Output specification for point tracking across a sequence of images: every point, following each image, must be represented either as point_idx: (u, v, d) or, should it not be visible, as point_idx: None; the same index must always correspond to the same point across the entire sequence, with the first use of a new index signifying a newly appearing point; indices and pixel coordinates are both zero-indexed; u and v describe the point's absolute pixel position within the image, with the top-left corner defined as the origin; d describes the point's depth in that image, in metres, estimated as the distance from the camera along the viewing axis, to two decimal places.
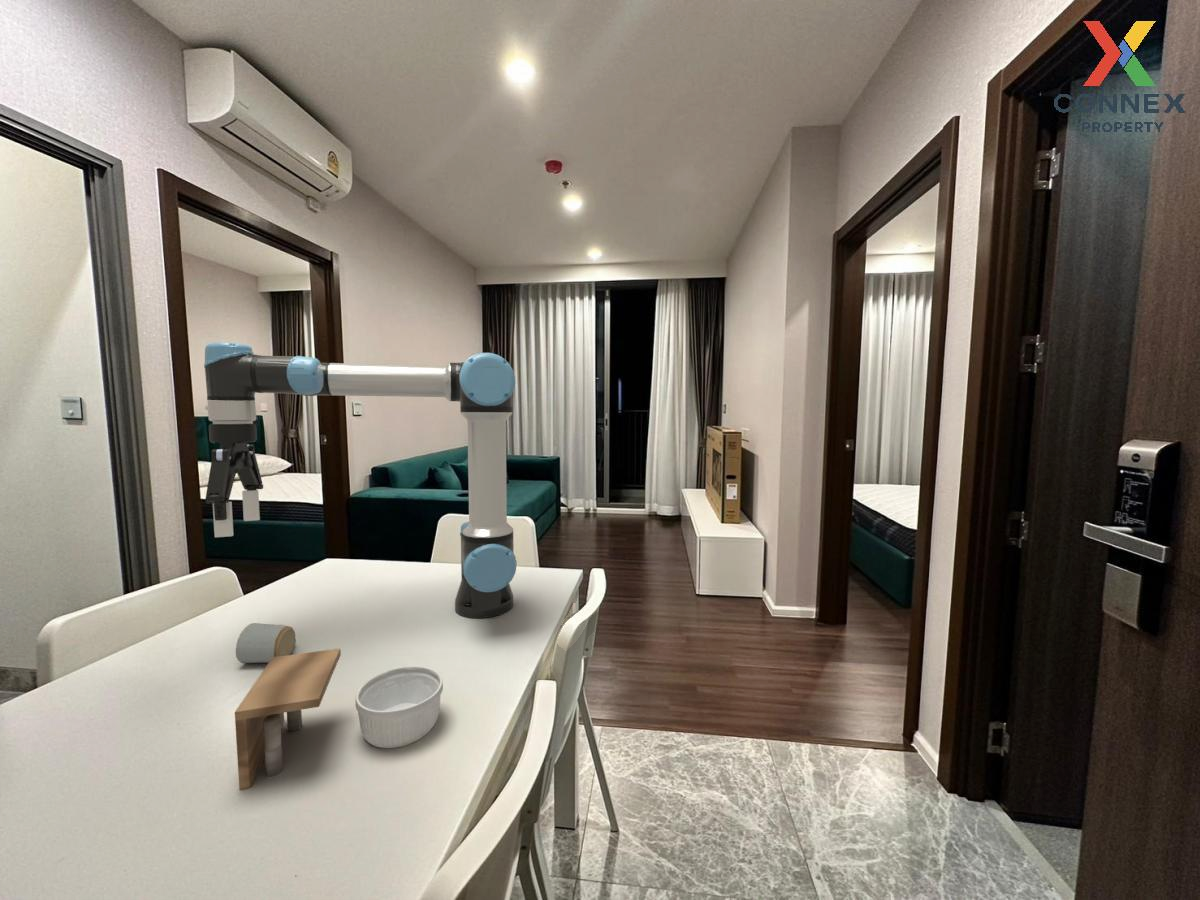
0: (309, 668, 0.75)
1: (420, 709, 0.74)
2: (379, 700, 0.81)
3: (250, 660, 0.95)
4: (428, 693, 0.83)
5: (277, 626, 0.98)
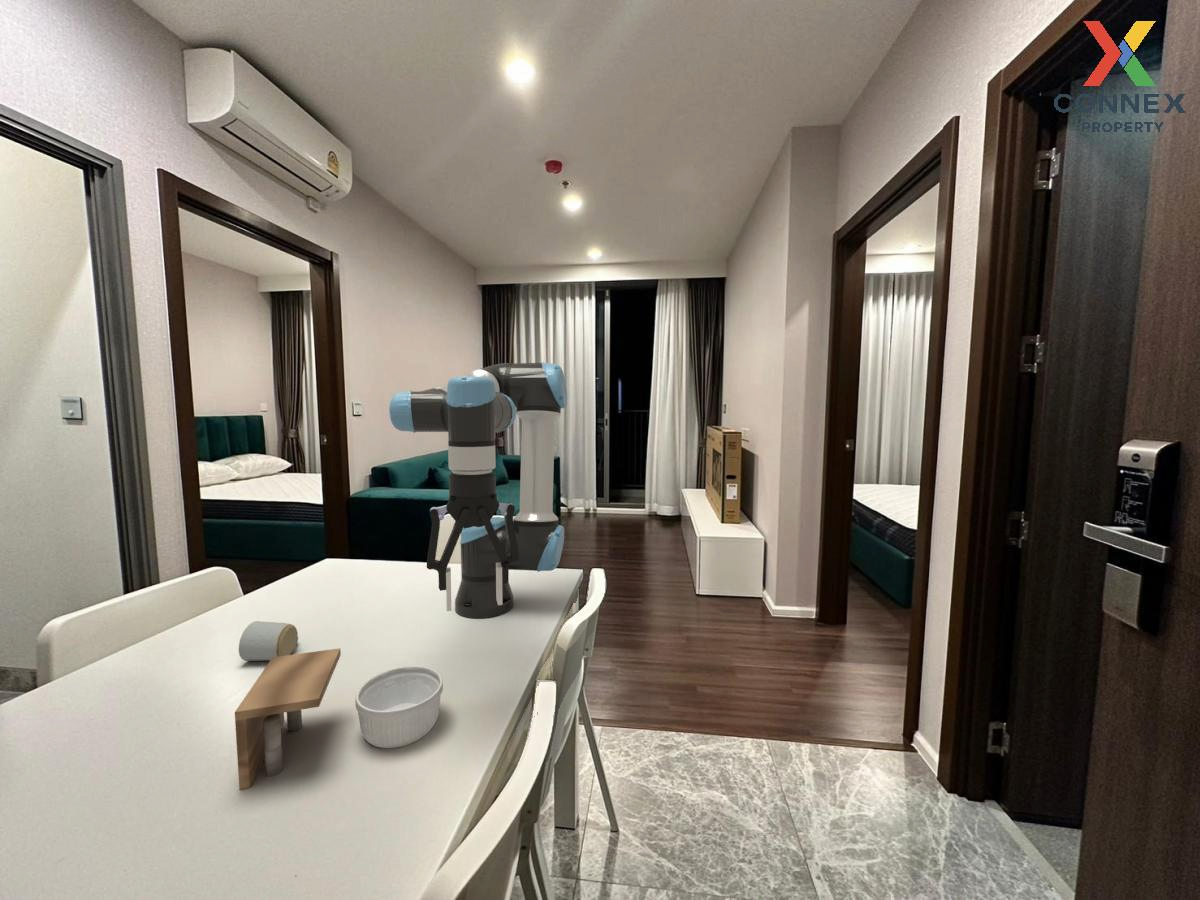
0: (309, 668, 0.75)
1: (420, 709, 0.74)
2: (379, 700, 0.81)
3: (252, 657, 0.96)
4: (428, 693, 0.83)
5: (279, 624, 0.99)
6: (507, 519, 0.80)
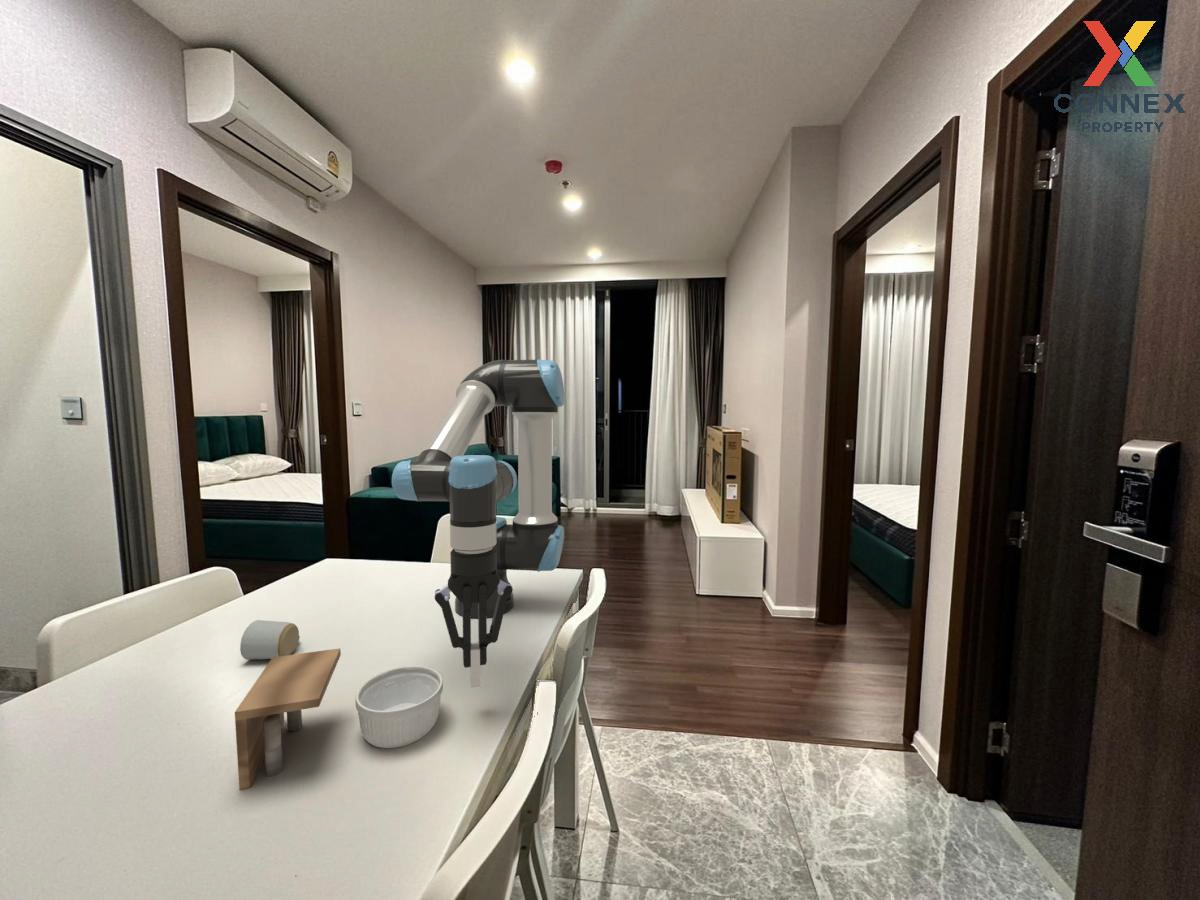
0: (309, 668, 0.75)
1: (420, 709, 0.74)
2: (379, 700, 0.81)
3: (254, 656, 0.97)
4: (428, 693, 0.83)
5: (281, 623, 1.00)
6: (501, 599, 0.81)
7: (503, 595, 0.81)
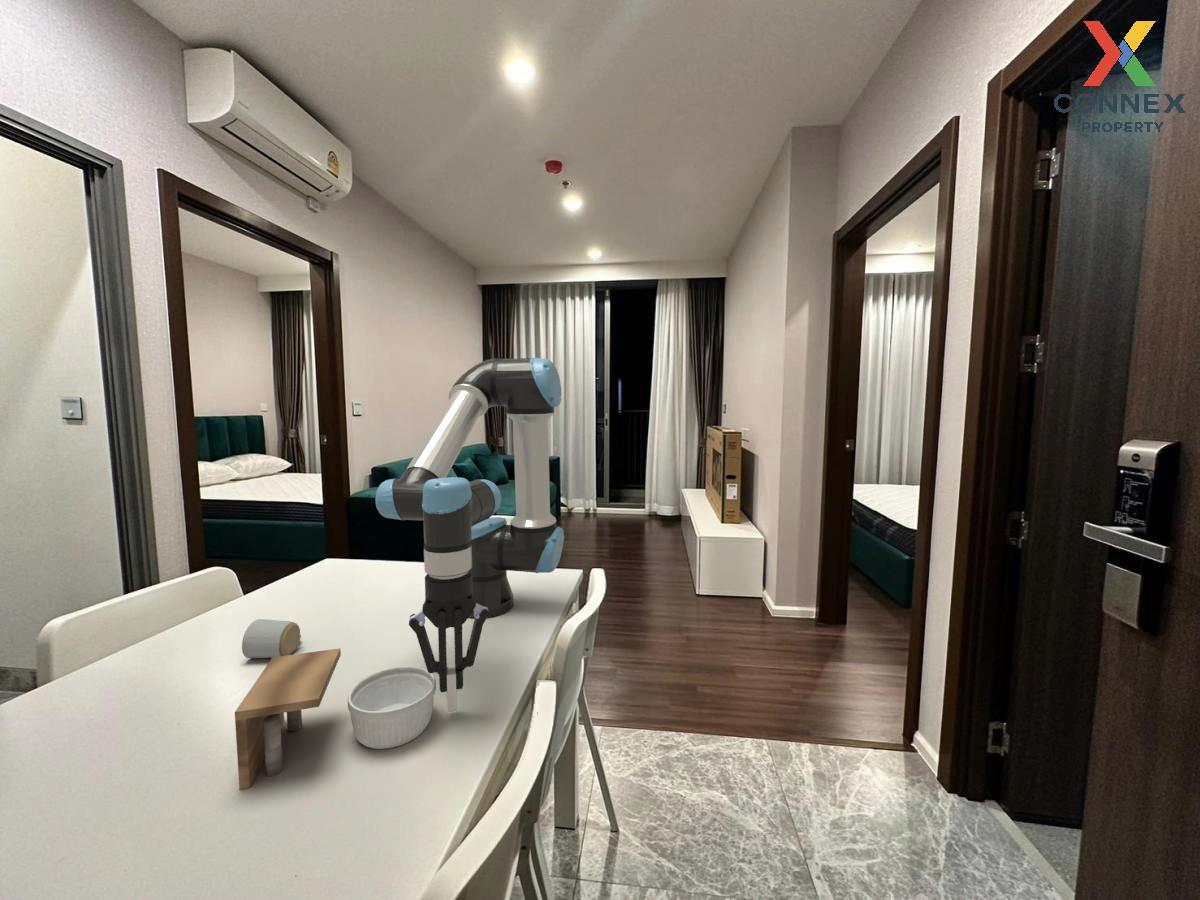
0: (309, 668, 0.75)
1: (412, 710, 0.73)
2: (372, 700, 0.80)
3: (255, 655, 0.97)
4: (421, 694, 0.82)
5: (282, 622, 1.00)
6: (477, 623, 0.80)
7: (479, 619, 0.80)
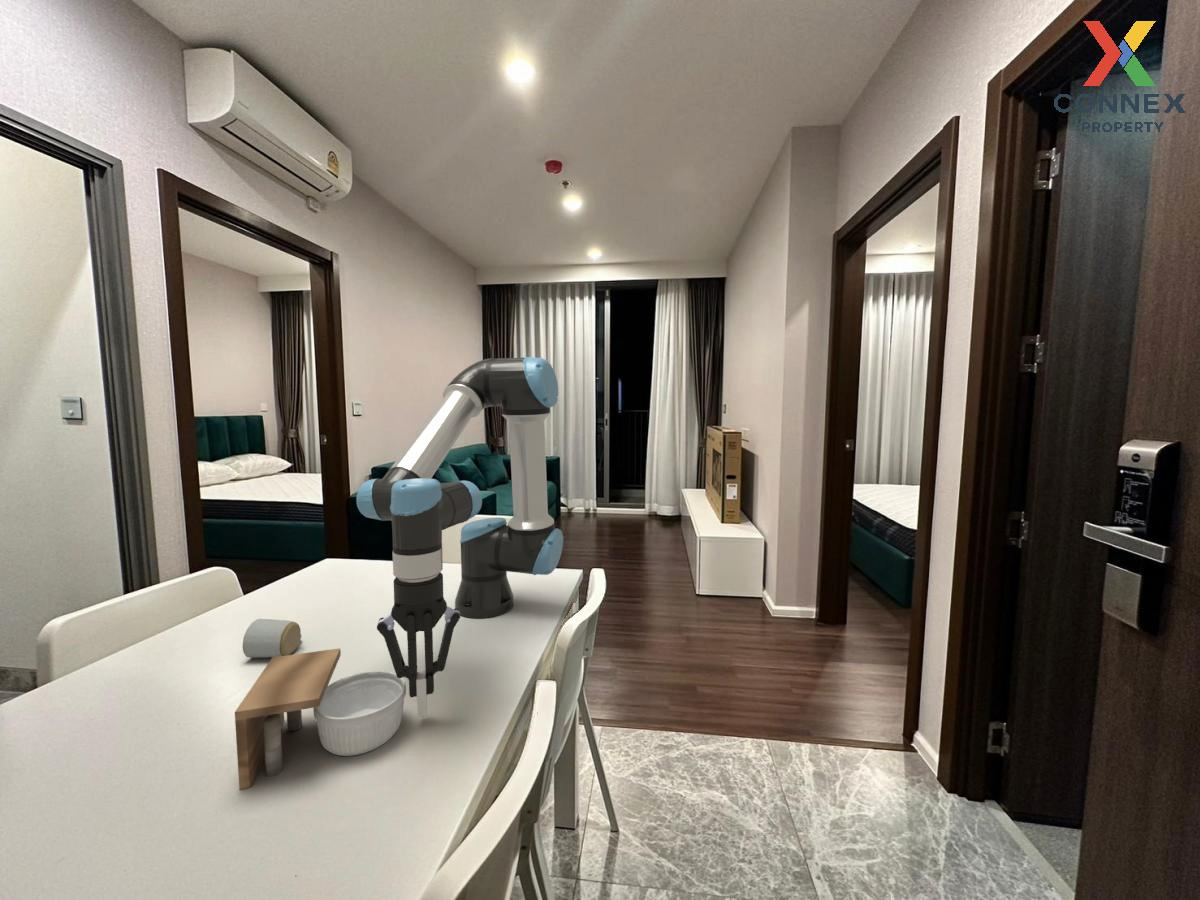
0: (309, 668, 0.75)
1: (379, 716, 0.72)
2: (341, 706, 0.79)
3: (256, 654, 0.98)
4: (392, 699, 0.81)
5: (283, 622, 1.00)
6: (448, 627, 0.78)
7: (450, 623, 0.78)
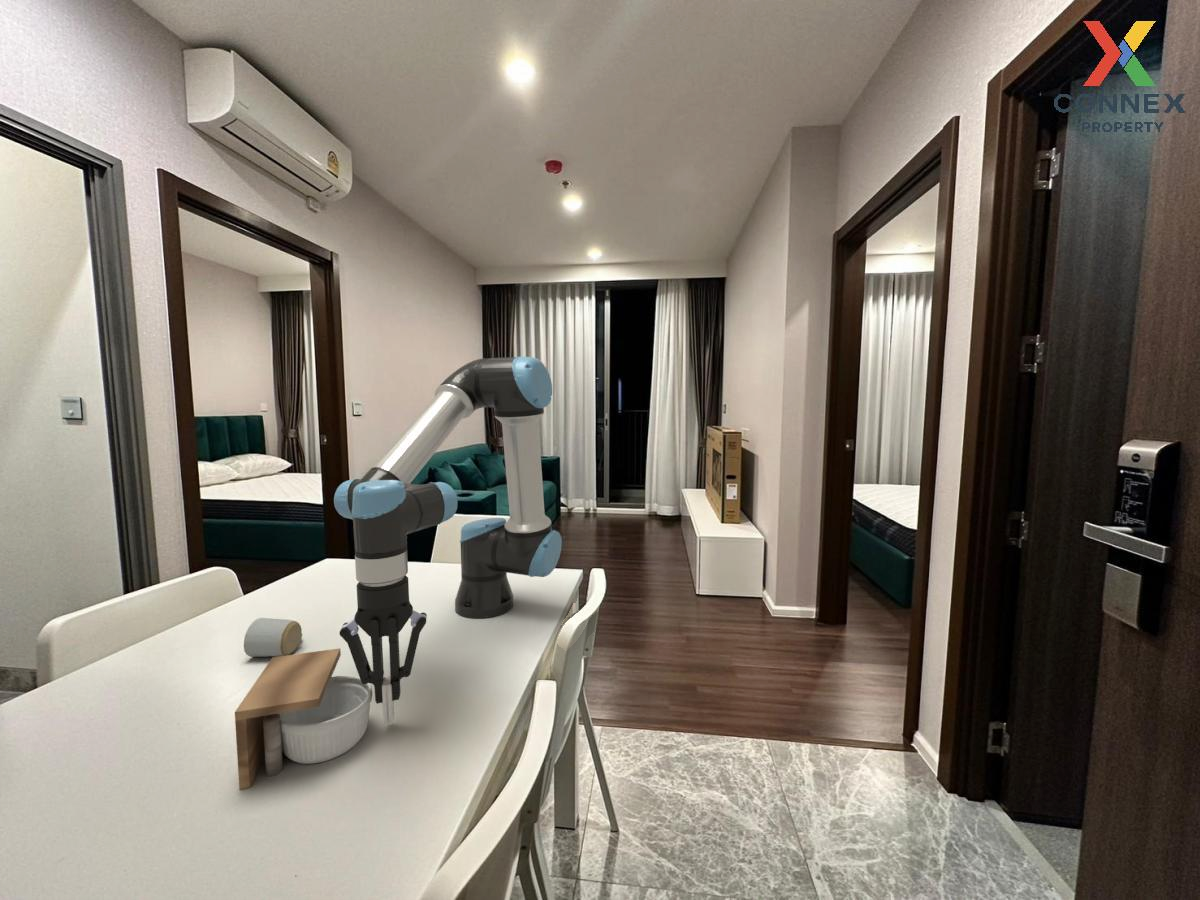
0: (309, 668, 0.75)
1: (342, 722, 0.70)
2: (306, 712, 0.77)
3: (257, 653, 0.98)
4: (359, 705, 0.79)
5: (284, 621, 1.01)
6: (413, 631, 0.77)
7: (416, 627, 0.77)
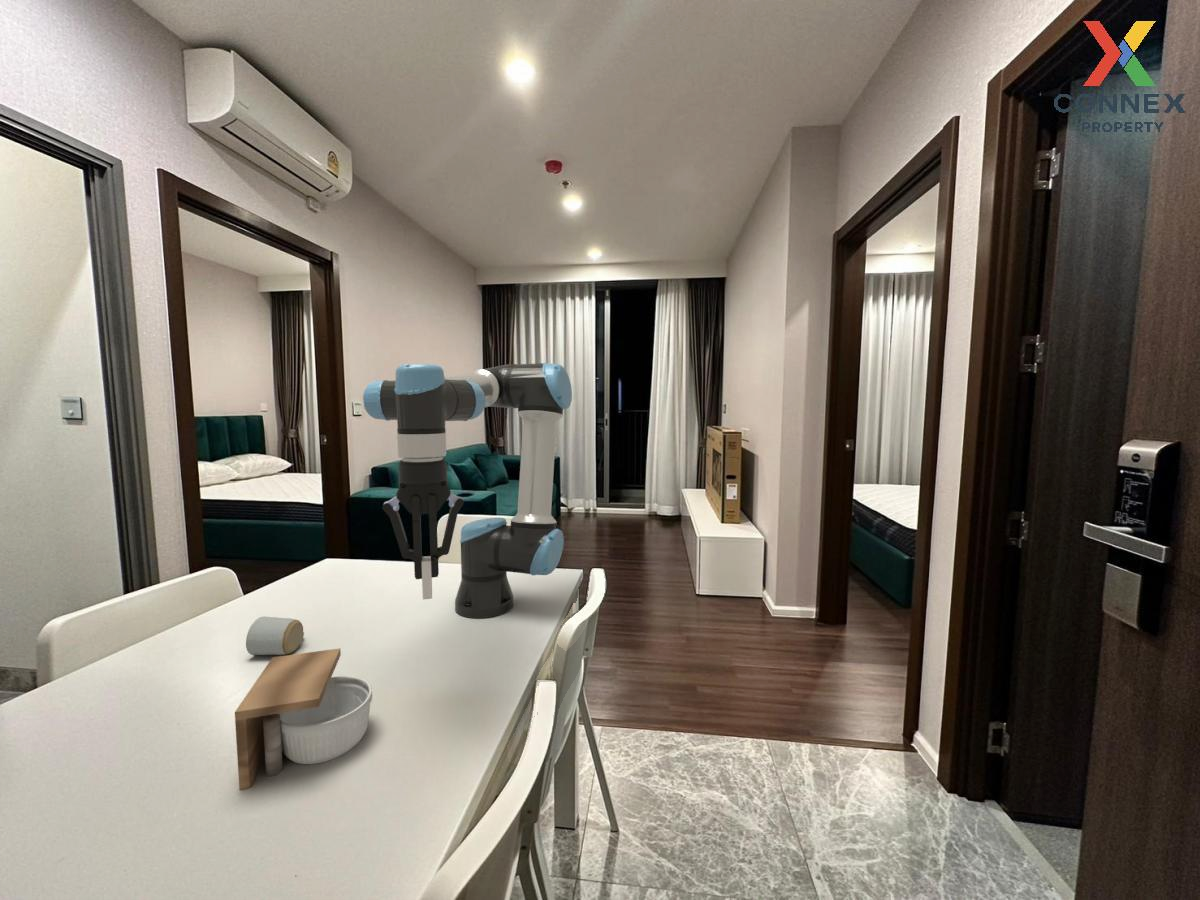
0: (309, 668, 0.75)
1: (342, 723, 0.70)
2: (306, 713, 0.77)
3: (259, 652, 0.99)
4: (359, 705, 0.79)
5: (285, 619, 1.01)
6: (452, 511, 0.80)
7: (454, 507, 0.80)
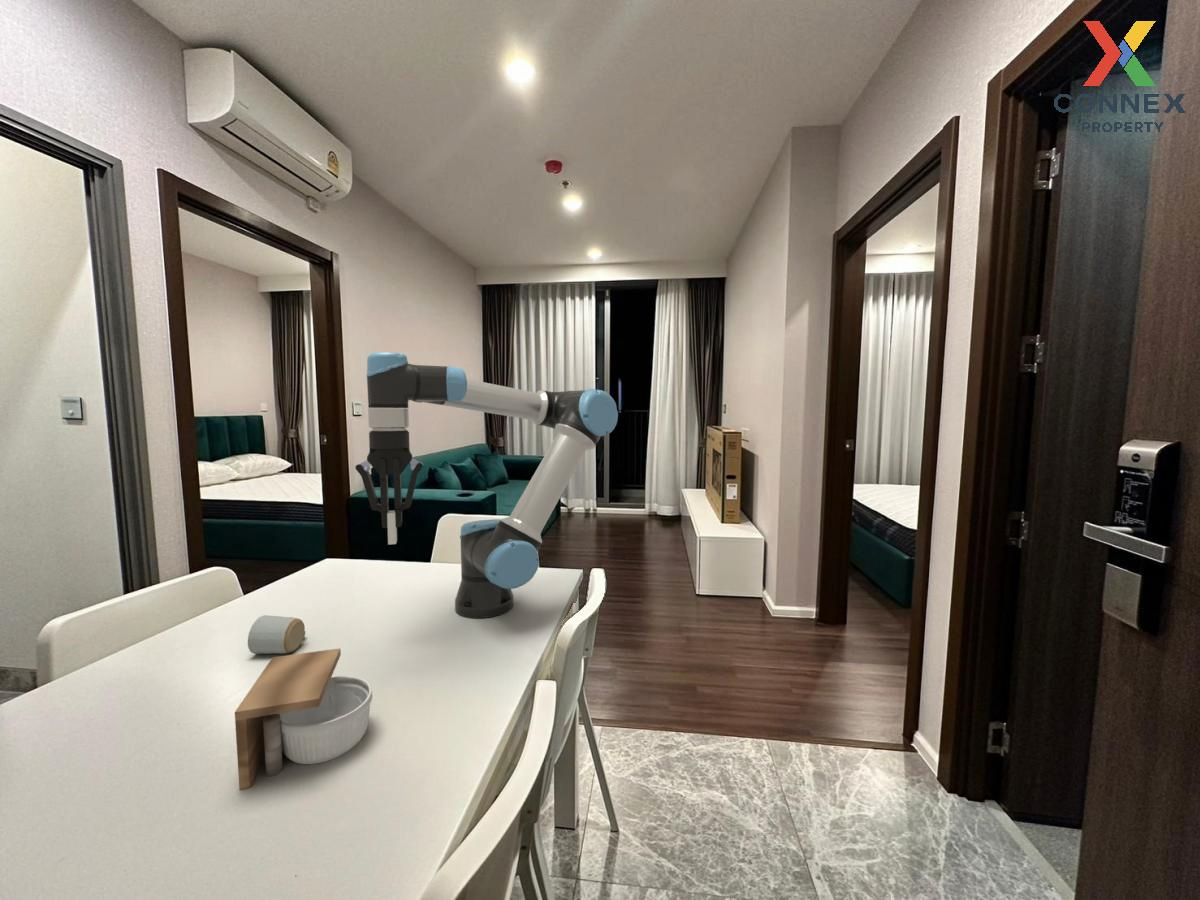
0: (309, 668, 0.75)
1: (342, 723, 0.70)
2: (306, 713, 0.77)
3: (261, 650, 0.99)
4: (359, 705, 0.79)
5: (287, 618, 1.02)
6: (413, 473, 0.98)
7: (414, 469, 0.98)
